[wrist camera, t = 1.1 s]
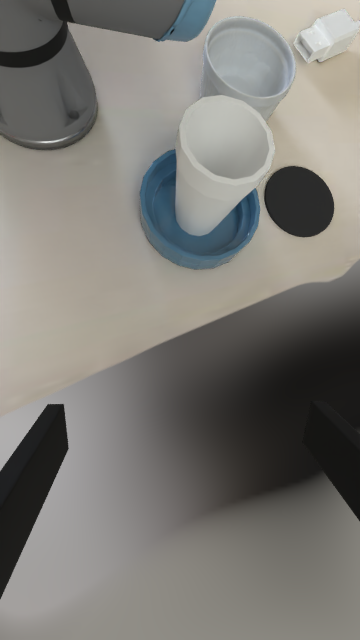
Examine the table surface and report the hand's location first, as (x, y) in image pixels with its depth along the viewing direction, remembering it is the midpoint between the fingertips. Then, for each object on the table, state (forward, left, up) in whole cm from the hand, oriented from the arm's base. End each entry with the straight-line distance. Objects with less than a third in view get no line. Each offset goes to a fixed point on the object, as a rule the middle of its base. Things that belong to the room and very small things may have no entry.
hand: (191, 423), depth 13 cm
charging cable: (-59, +44, -20) cm, 76 cm away
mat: (-25, +26, -19) cm, 41 cm away
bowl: (-23, +8, -19) cm, 31 cm away
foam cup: (-23, +8, -19) cm, 31 cm away
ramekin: (-42, +17, -20) cm, 49 cm away
